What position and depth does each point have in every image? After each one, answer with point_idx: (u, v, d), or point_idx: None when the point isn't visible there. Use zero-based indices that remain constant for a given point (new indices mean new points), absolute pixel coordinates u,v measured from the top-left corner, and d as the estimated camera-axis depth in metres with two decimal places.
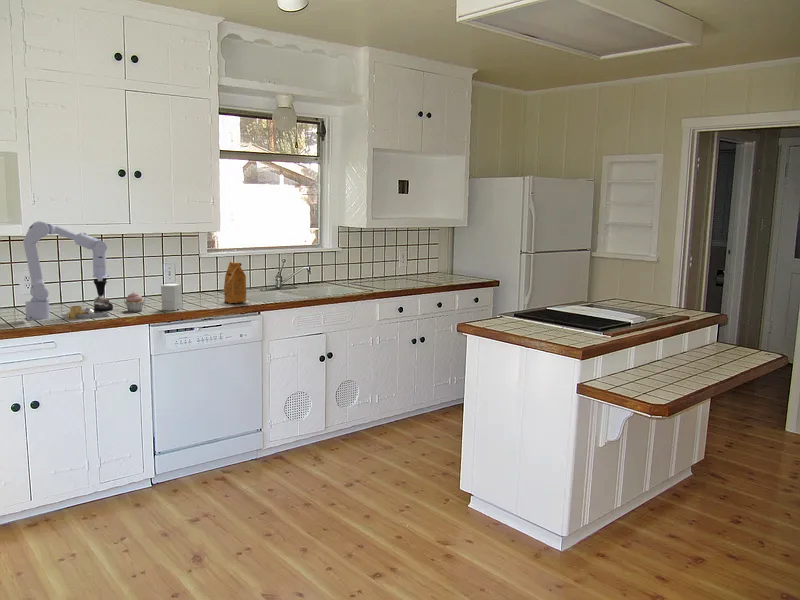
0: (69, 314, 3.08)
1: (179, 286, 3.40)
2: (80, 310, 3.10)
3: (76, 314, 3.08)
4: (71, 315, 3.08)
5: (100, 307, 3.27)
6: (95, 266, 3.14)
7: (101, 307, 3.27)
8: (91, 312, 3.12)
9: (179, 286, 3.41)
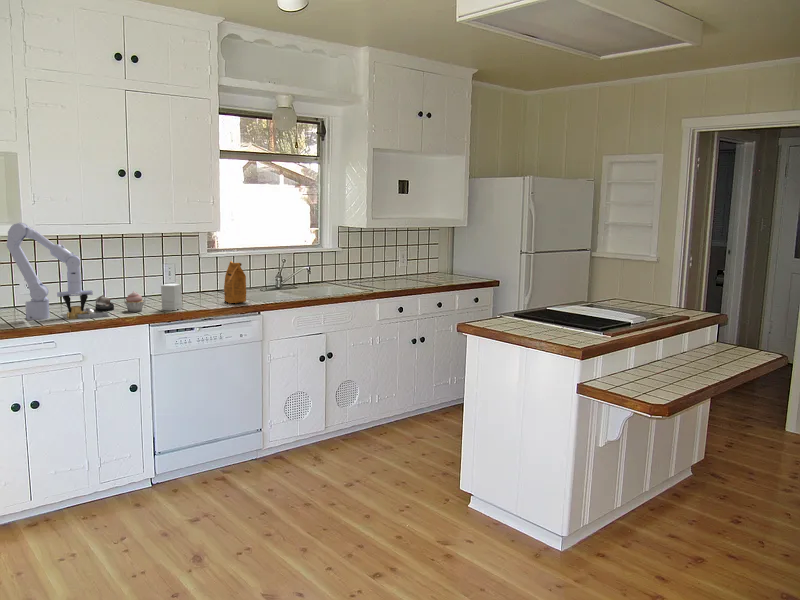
0: (69, 314, 3.08)
1: (179, 286, 3.40)
2: (80, 310, 3.10)
3: (76, 314, 3.08)
4: (71, 315, 3.08)
5: (101, 307, 3.27)
6: None
7: (102, 307, 3.27)
8: (91, 312, 3.12)
9: (179, 286, 3.41)
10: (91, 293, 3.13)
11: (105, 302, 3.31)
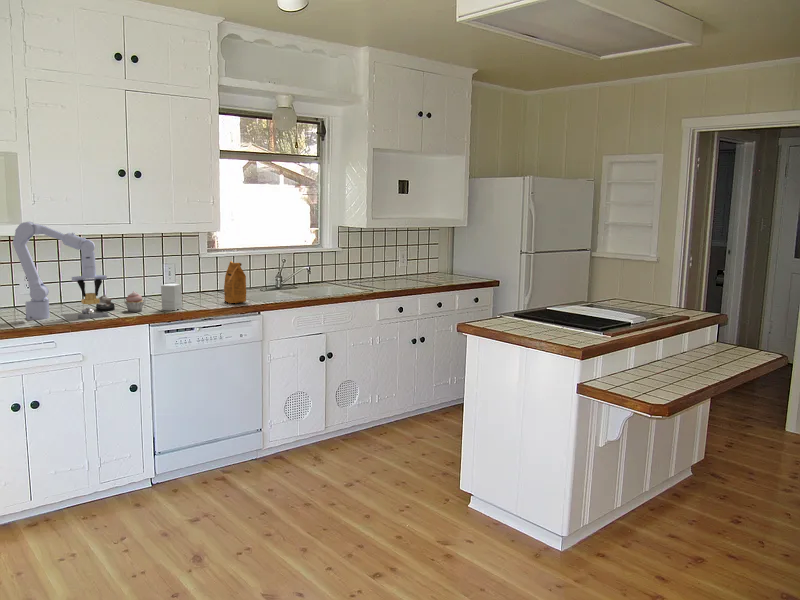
0: (84, 301, 3.09)
1: (179, 286, 3.40)
2: (94, 297, 3.11)
3: (91, 301, 3.09)
4: (86, 302, 3.09)
5: (101, 307, 3.27)
6: None
7: (102, 307, 3.27)
8: (91, 312, 3.12)
9: (179, 286, 3.41)
10: (105, 278, 3.13)
11: (106, 302, 3.31)
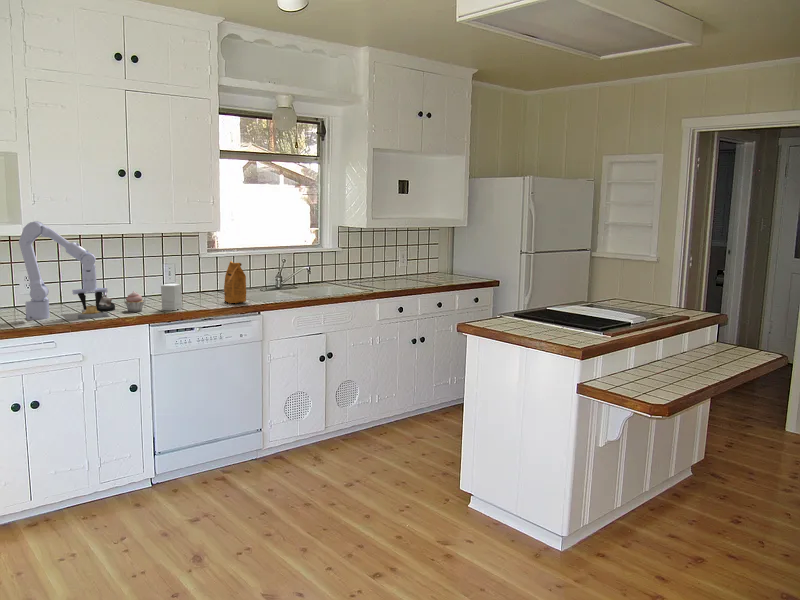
0: None
1: (179, 286, 3.40)
2: (95, 310, 3.12)
3: None
4: None
5: (101, 307, 3.27)
6: None
7: (102, 307, 3.27)
8: None
9: (179, 286, 3.41)
10: (106, 291, 3.14)
11: (106, 302, 3.31)
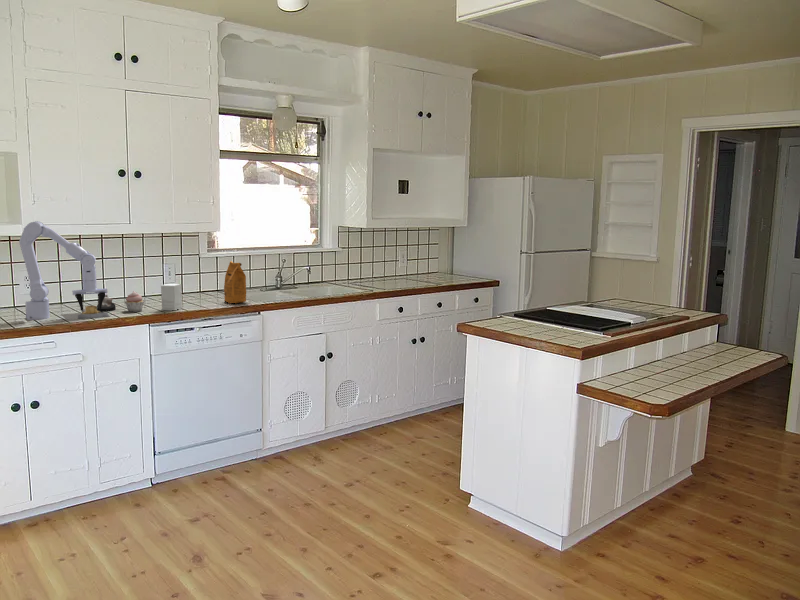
0: None
1: (179, 286, 3.40)
2: (95, 310, 3.12)
3: None
4: None
5: (102, 307, 3.27)
6: None
7: (103, 307, 3.27)
8: None
9: (179, 286, 3.41)
10: (106, 291, 3.14)
11: (107, 302, 3.31)
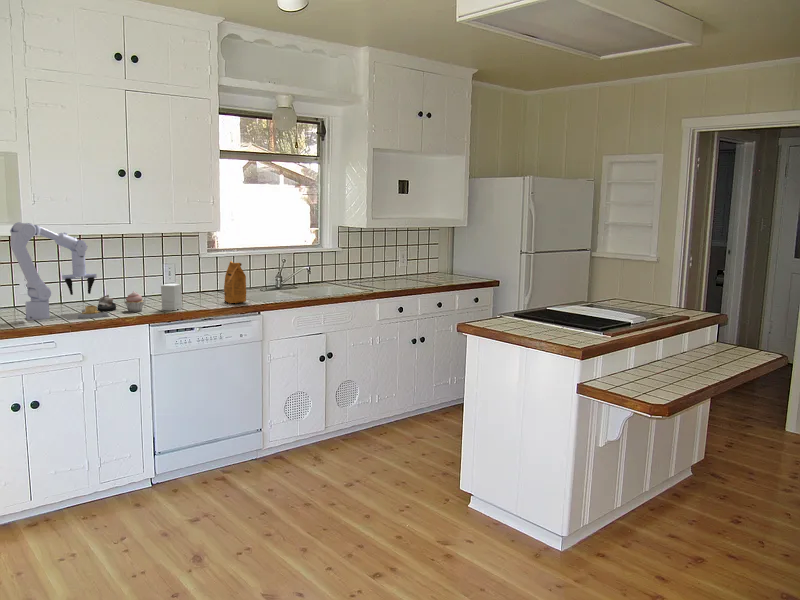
0: None
1: (179, 286, 3.40)
2: (95, 310, 3.12)
3: None
4: None
5: (102, 307, 3.27)
6: None
7: (103, 307, 3.27)
8: None
9: (179, 286, 3.41)
10: (95, 276, 3.22)
11: (107, 302, 3.31)
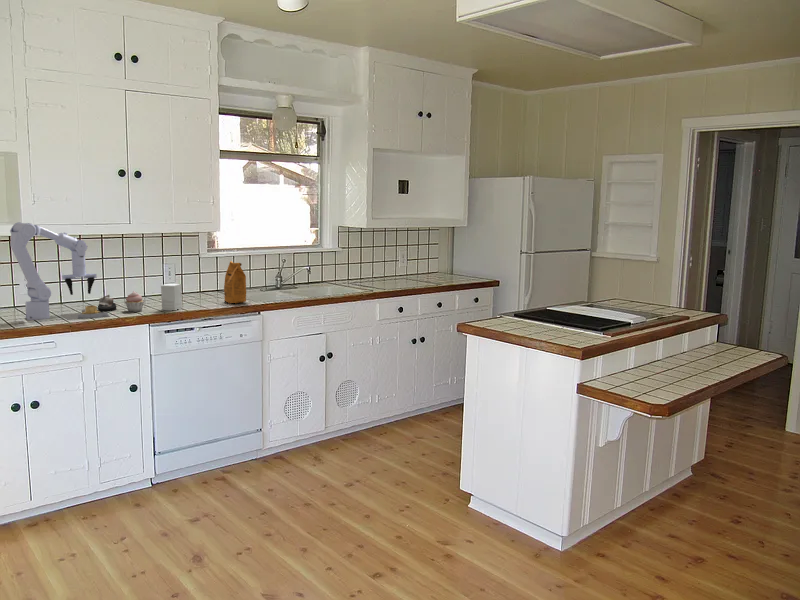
0: None
1: (179, 286, 3.40)
2: (95, 310, 3.12)
3: None
4: None
5: (102, 307, 3.27)
6: None
7: (103, 307, 3.27)
8: None
9: (179, 286, 3.41)
10: (95, 276, 3.22)
11: (108, 302, 3.31)
